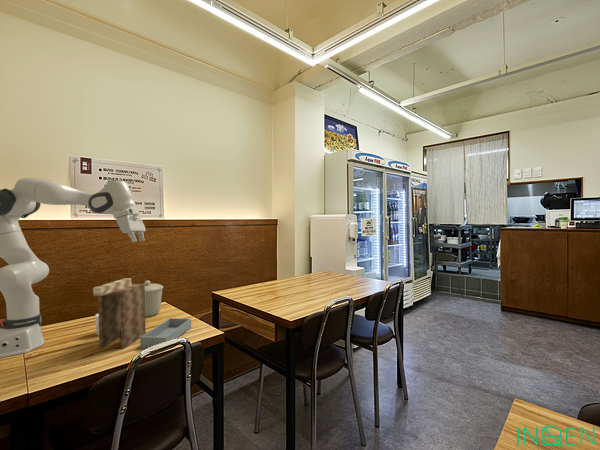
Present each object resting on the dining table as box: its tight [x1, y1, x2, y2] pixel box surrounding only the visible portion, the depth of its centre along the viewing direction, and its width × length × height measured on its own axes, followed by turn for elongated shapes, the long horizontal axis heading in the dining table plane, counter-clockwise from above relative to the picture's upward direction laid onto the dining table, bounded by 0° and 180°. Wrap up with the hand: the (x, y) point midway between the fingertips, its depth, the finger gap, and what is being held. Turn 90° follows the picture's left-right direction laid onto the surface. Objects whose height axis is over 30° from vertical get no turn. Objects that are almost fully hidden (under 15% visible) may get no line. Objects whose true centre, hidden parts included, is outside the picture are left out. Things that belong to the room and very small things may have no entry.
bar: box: [92, 277, 133, 297], centre depth 136 cm, size 20×4×4 cm, turn 175°
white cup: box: [94, 313, 99, 337], centre depth 153 cm, size 8×8×10 cm
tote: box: [139, 317, 192, 349], centre depth 147 cm, size 26×12×5 cm, turn 175°
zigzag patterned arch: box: [97, 283, 147, 350], centre depth 143 cm, size 16×12×26 cm
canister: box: [143, 280, 164, 318], centre depth 182 cm, size 18×18×21 cm
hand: (138, 241), depth 138 cm, fingers open, 8 cm apart
